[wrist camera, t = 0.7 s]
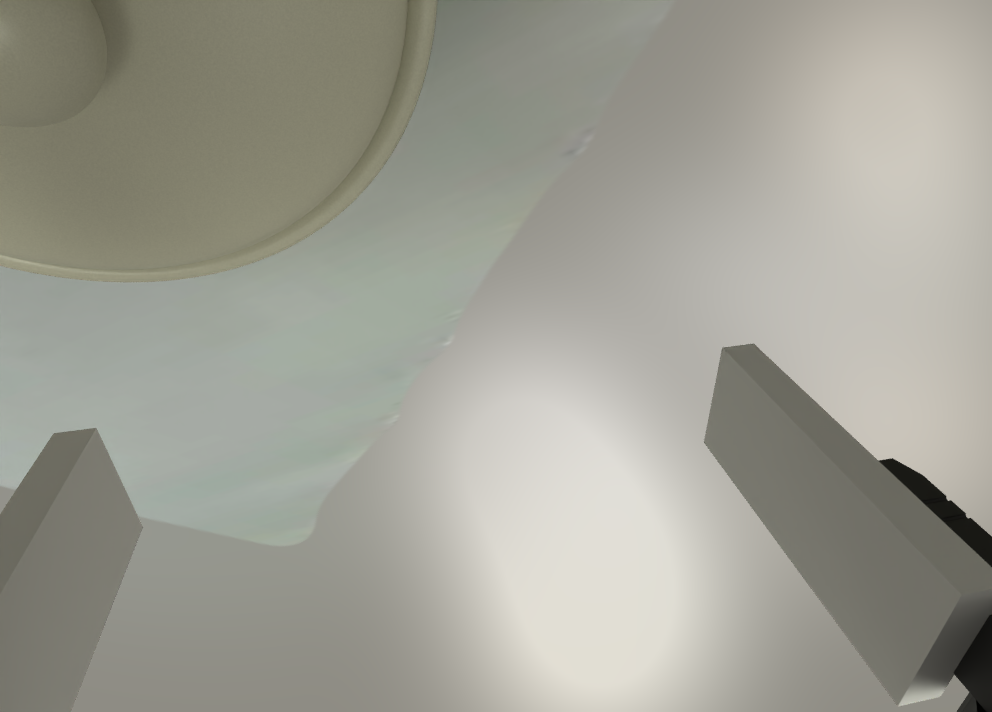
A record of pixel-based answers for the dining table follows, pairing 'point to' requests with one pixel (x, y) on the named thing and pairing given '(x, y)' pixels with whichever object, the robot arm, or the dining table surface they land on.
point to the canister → (194, 127)
